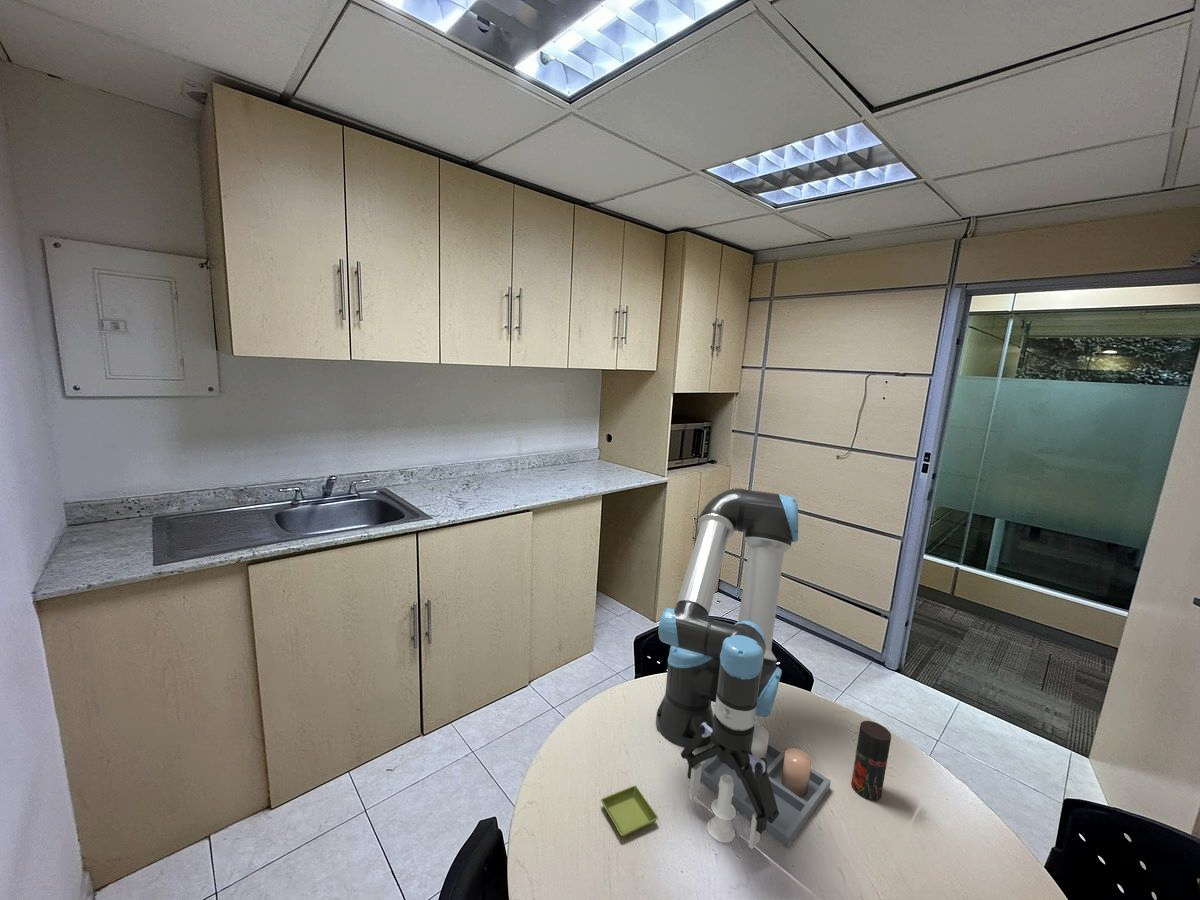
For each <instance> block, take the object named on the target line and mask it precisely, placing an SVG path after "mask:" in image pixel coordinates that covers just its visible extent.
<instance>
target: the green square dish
mask: <svg viewBox="0 0 1200 900" xmlns="http://www.w3.org/2000/svg"><path fill="white" fill-rule="evenodd" d="M600 802H601V804H602V806H603V807H604V810H605V811H606V813H607V814H608V816H609V817H610V819H611V821H612V822H613V824H614V826H615V828H616V829H617V831H618V833H619V834H620V836H621V837H625V836H627V835H630V834H631V833H634V832H636V831H639V830H640V829H643V828H645V827H647V826H649V825H651V824H654V823H655V822H656V821H657V820H658V819H659V817H658V814H657V813H656V812H655V810H654V809H653V808H652V806H651V805H650V803H649V802H648V800H647V799H646V798H645V796H644V795H643V793H642V792H641V790H640V789H639V788H638V787H637V785H631V786H630V787H627V788H624V789H622V790H619V791H617V792H614V793H612V794H610V795H607V796H605V797H602V798H601V799H600Z"/></svg>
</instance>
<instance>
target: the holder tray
mask: <svg viewBox="0 0 1200 900" xmlns="http://www.w3.org/2000/svg"><path fill="white" fill-rule="evenodd" d="M784 757H785V751H784V750H782V749H781V748H779V747H778V746H776V745H774V744H773V743H772V742H770V741H768V746H767V754H766V760H767V773H768V776H769V780H770V783H771V787H772V790H773V794H774V797H775V801H776V804H777V808H778V811H779V816H778V817H777V818H776V819H775V821H774V822H773V823H769V822H768V820H767V825H766V829H765V830H764V832H766V833H767V834H768V835H770V836H771V837H772V838H773V839H775V840H776V841H777V842H778V843H780V844H781V845H783V846H784V847H785V848H788V847H789V846H790V845H791V843H792V842H793V840H794V839H795V838H796V836H797V835H798V833H799V832H800V830H801V829H802V828H803V827H804V825H805V824H806V822H807V821H808V820H809V819H810V818H811V815H812V814H813V812H814V811H815V810H816V808H817V807H818V806H819V804H820V803H821V801H822V800H823V799H824V797H825V795H827V794H828V791H830V787H831V781H832V780H830V779H829V778H828V777H826V776H824V775H822V773H819V772H818V771H817V770H814V769H813V768H811V772H810V779H809V786H808V792H807V794H806V795H805V796H802V797H799V796H797V795H796V794H794V793H793V792H791V791H790V790H788V789H787V788H785V787H784V786H782V783H781V779H782V772H783V765H784ZM701 764H702V770H701V779H700V783H702V784H704V785H705V786H707V788H709V789H710V790H711V791H713V792H714V794H717V795H718V793H719V786H718V785H719V782H720V777H721V775H724V774H726V775H730V776H731V777H732V779H733V782H734V788H733V797H732V800H731V804H732V805H733V806H734V808H735V810H737V811H738V812H740V814H742V815H744V816H745V817H746V818H748V819H749V820H750V821H752V815H753V814H754V813H755V810H754V807H753V805H752V803H751V801H750V798H749V796H748V794H747V792H746V790H745V787H744V785H743V783H742V781H741V779H739V778H738V776H737V774H736V772H735V769H734V770H732V769H731V768H729V767H728V766H727V765H726V764H724V763H722V762H721V761H719V758H718V757H717V755H716V756H714V757H712V758H709V759H707V760H705V761H704V762H703V763H701ZM751 766H752V765H751ZM741 769H742V770H743V769H744V766H743V767H742V768H741ZM752 769H753V766H752ZM752 773H753V775H754V777H755V772H753V770H752ZM755 779H756V778H755Z"/></svg>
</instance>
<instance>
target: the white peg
mask: <svg viewBox="0 0 1200 900" xmlns="http://www.w3.org/2000/svg"><path fill="white" fill-rule="evenodd" d="M718 786H719V793H718V794H717V798H716V799H714V800H713V801H712V802H711V811H712V812H713V813H714V816H713V817H712V818H710V819H709V820H708V822H707V825H706V827H707V831H708V833H709V834H710V836H711V837H712V838H713V839H714V840H715V841H717V842H719V843H723V844H725V843H727V844H728V843H731V842H733V840H734V839H735V835H736V832H735V829H734V827H733V826H732V822H731V820H733V819H735V816H737V812H736V808H735V807H734V806H733V805H732V804H731V800H732V797H733V788H734V782H733V779H732V777H731V776H730V775H726V774H724V775H721V777H720V782H719V785H718Z"/></svg>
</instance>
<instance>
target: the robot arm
mask: <svg viewBox="0 0 1200 900" xmlns="http://www.w3.org/2000/svg"><path fill="white" fill-rule="evenodd" d="M796 499H797V498H795V497H794V496H789V495H784V494H781V493H773V492H766V491H760V490H753V489H752V490H750V489H745V488H730V489H726V490H724V491H722V492H721V493H719V494H717V495H715V496H714V497H712V499H710V501H708V503H707V504H706V505H705V506H704V507H703V509H702V510H701V512H700V515H699V517H698V522H697V527H698V534H697V537H696V540H695V542H694V547H693V548H692V549H693V550H692V552H691V555H690V560H689V562H688V565H687V568H686V572H685V575H684V578H683V581H682V584H681V587H680V591H679V593H678V598H677V601H676V604H675V608H669V607H665V608H664V609H663V612H661V615H660V619H659V623H658V629H657V630H658V638H659V640H660V641H661V643H663V644H666V645H669V646H670V648H669V655H668V658H667V672H666V683H665V692H664V695H663V698H662V700H661V701H660V704H659V707H658V709H657V711H656V714H655V715H656V716H655V726H656V729H657V731H658V732H659V734H660V735H661V736H663V738H664V739H666V740H667V741H669V742H670V743H671V744H674V745H676V746H679V747H682V748H684V749H683V750H682V751H681V752H680V756H681V758H682V759H685V760H686V761H687V765H688V768H687V778H688V779H689V788H688V789H689V791H688V798H689V799H690V800H692V799H694V798H695V797H696V796H697V795H698V794H699V793H700V788H701V787H700V786H701V781H700V779H701V770H702V764H703V763H704V762H706V761H707V760H708V759H709V758H712V757H714V756H716V755H717V757H718V758H719V761H721V762H722V763H724V764H726V765H727V766H728V767H729V768H731V769H732V770H734V769H735V772H736V774H737V776H738V778H739V779H741V781H742V783H743V785H744V787H745V790H746V792H747V794H748V796H749V798H750V801H751V803H752V805H753V807H754V810H755V813H754V814H753V815H752V820H751V825H750V830H749V831H750V832H749V840H748V847H749V848H750V849H752V850H754V848H755V847H756V845H758V843H759V842H760V839H761V835H762V834H763V833H764V832H765V829H766V825H767V820H768V822H769V823H773V822H774V821H775V819H776V818H777V817H778V816H779V811H778V808H777V804H776V801H775V797H774V794H773V790H772V787H771V783H770V780H769V776H768V773H767V760H766V759H765V758H761V759H758V758H756V757H754V756H753V755H752V752H751V746H752V742H753V733H754V724H756V719H757V718H756V716H757V717H760V718H767V717H769V716H770V714H771V712H772V710H773V707H774V704H775V699H776V696H777V693H778V688H779V685H780V680H781V677H782V673H783V671H782V669H781V668H780V667H779V666H777V660H778V659H777V658H776V656H775V654H774V653H773V650H772V648H773V647H772V646H773V639H774V632H775V631H774V629H775V623H776V616H777V615H776V614H777V607H778V600H779V599H778V598H779V593H780V592H779V591H780V584H781V577H782V570H783V563H784V561H783V560H784V554H785V553H786V552H787V551H789V550H790V549H791V548H792V543H795V542H796V543H797V542H798V541H799V508H798V507H799V506H798V501H797V500H796ZM734 532H740V533H745V534H744V541H745V543H747V545H748V554H747V559H746V567H745V571H744V572H745V575H744V579H743V587H742V592H741V599H740V605H739V614H738V620H737V622H736V623H735V624H733V623H732V624H731V623H728V622H725V621H722V620H721V621H720V620H716V619H712V618H708V617H709V616H710V612H711V607H712V603H713V600H714V597H715V592H716V589H717V583H718V580H719V576H720V573H721V568H722V563H723V561H724V557H725V556H724V555H725V553H726V548H727V544H728V540H729V539H730V538H731V537H733V535H734V534H735V533H734ZM712 702H713V703H715V705H714V713H713V707H712ZM710 743H711V744H712V746H710V747H708V748H706V749H705V750H703V751H700V752H698V753H696V754H694V751H695V750H696V749H701V748H704V747H706V746H708V745H709V744H710ZM702 762H703V763H702ZM750 763H751V764H752V766H753V769H752V766H751V764H750ZM743 766H744V769H743V770H742V769H741V768H742V767H743ZM752 770H753V772H755V777H754V775H753V773H752ZM755 778H756V779H755Z"/></svg>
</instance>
